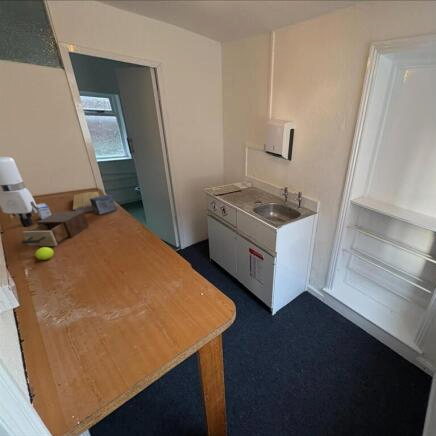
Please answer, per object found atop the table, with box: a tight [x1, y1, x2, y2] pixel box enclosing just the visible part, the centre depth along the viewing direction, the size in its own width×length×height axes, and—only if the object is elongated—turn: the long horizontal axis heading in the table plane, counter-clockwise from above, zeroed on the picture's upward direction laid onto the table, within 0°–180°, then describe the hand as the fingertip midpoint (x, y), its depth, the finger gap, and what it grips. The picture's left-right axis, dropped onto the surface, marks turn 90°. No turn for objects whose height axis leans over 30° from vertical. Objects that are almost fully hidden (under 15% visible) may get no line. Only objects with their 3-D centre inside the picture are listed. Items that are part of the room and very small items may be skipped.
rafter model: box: [72, 191, 100, 213], centre depth 164 cm, size 35×14×6 cm, turn 39°
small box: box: [90, 194, 117, 216], centre depth 153 cm, size 11×6×10 cm, turn 154°
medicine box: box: [36, 202, 52, 220], centre depth 140 cm, size 8×4×9 cm, turn 55°
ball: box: [34, 246, 55, 261], centre depth 103 cm, size 6×6×6 cm
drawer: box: [21, 223, 69, 247], centre depth 114 cm, size 18×11×8 cm, turn 9°
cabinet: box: [36, 210, 90, 239], centre depth 125 cm, size 15×13×10 cm
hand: (28, 225), depth 105 cm, fingers closed
